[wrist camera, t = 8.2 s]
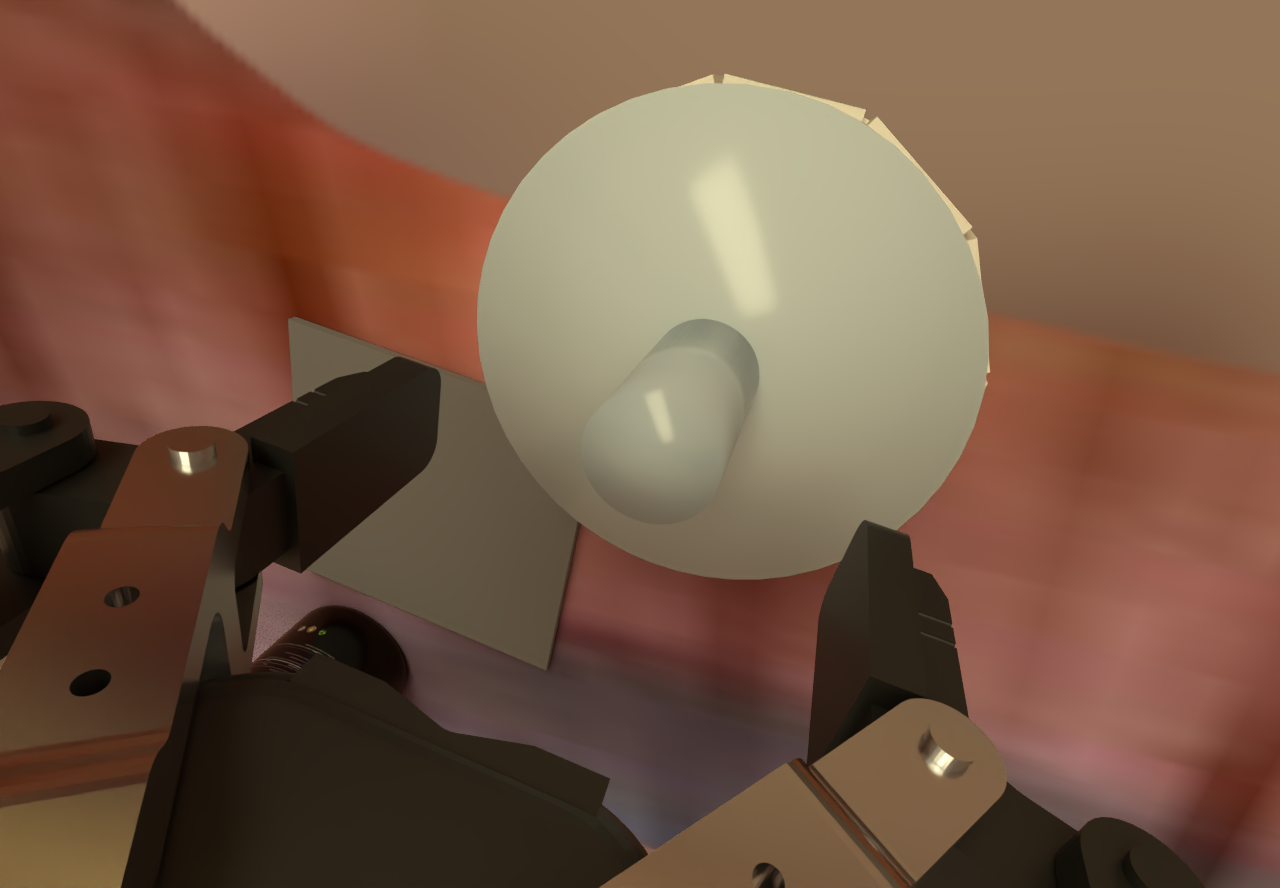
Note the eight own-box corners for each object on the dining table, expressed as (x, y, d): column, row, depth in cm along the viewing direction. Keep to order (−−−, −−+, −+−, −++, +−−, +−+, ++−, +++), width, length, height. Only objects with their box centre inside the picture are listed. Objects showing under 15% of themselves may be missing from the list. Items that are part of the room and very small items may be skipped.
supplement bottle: (425, 703, 37) (257, 928, 27) (328, 684, 39) (139, 886, 29) (393, 607, 34) (192, 818, 24) (291, 593, 36) (66, 781, 26)
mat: (309, 563, 35) (303, 568, 34) (295, 316, 28) (288, 319, 27) (549, 664, 33) (546, 670, 32) (600, 424, 26) (597, 428, 25)
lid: (476, 475, 22) (357, 586, 17) (523, 24, 15) (352, -16, 10) (858, 619, 20) (855, 794, 15) (1100, 169, 13) (1242, 208, 8)
